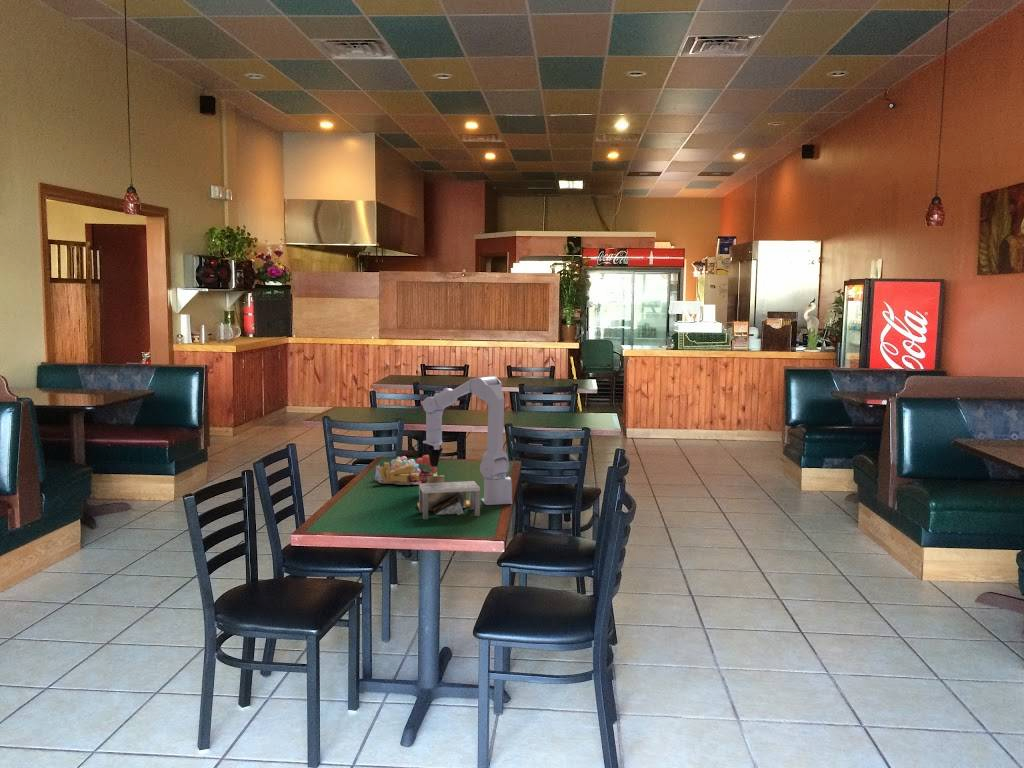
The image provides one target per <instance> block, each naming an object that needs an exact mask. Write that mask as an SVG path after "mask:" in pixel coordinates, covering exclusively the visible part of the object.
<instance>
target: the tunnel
mask: <svg viewBox="0 0 1024 768" xmlns="http://www.w3.org/2000/svg"><path fill="white" fill-rule="evenodd" d="M418 487H419V488H418V489H419V490H418V495H419V496H418V503H419V509H418V513H422V519H423V520H428V519H429V510H428V493H442V492H463V491H466V492H469V501H470V504H469V510H470V511H474V516H475V517H480V516H481V510H480V509H481V487H480V486H479V485H478V484H477V483H476V481H474V480H469V481H467V480H466V481H465V480H464V481H445V482H441V483H419V484H418Z"/></svg>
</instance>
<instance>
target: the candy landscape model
mask: <svg viewBox="0 0 1024 768" xmlns="http://www.w3.org/2000/svg"><path fill="white" fill-rule="evenodd" d="M390 464H391V465H390ZM420 465H424V466H428V468H429V469H431V470H432V471H431V470H430V471H428V470H427V469H425V468H422V467H419V466H420ZM427 476H438V469H437V467H436V466H435V467H432V466H431V464H430V460H429V455H428V454H423V456H421V457H418V458H416V460H415V459H413V458H410V459H409V458H407V456H405V455H403V456H397V457H396V459H391V461H390V462H389V461H386V462H383V465H381V466H380V464H378V465H375V476H374V480H375V481H377V482H378V483H379V484H393V485H401V486H402V485H403V486H404V485H407V486H409V485H418V486H419V483H427Z"/></svg>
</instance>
